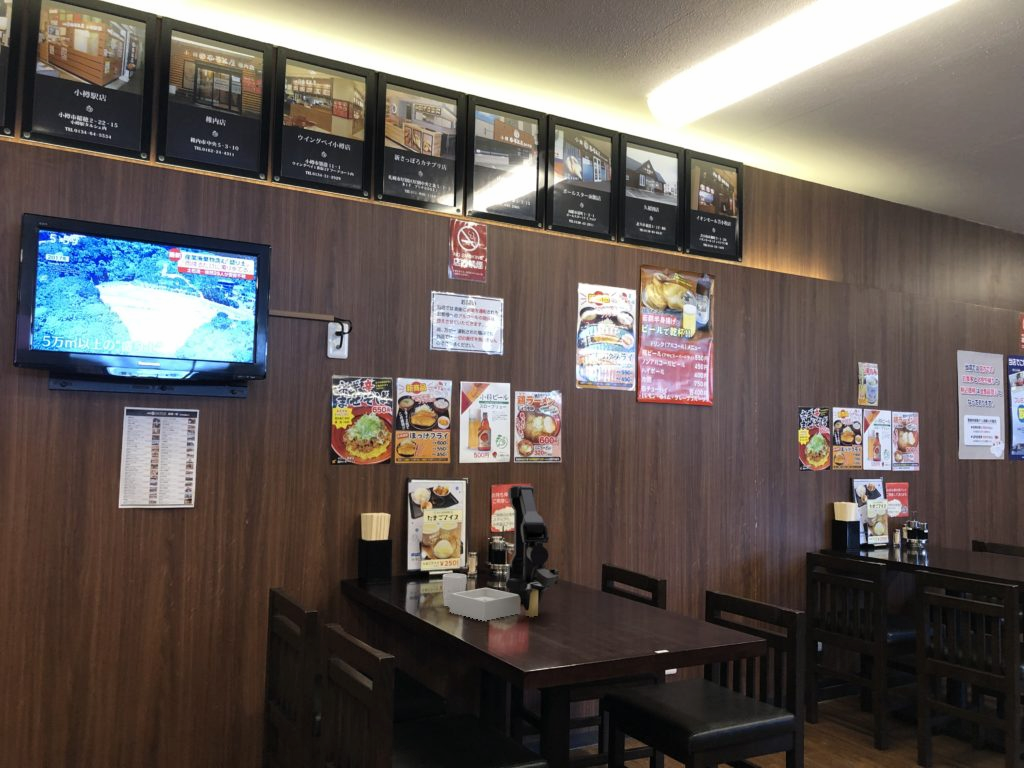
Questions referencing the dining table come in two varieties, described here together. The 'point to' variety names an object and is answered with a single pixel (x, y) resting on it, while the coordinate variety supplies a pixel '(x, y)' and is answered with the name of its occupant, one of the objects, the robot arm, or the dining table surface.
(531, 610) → the peg
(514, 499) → the robot arm
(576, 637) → the dining table surface
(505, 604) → the socket box
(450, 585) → the white cup
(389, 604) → the dining table surface
